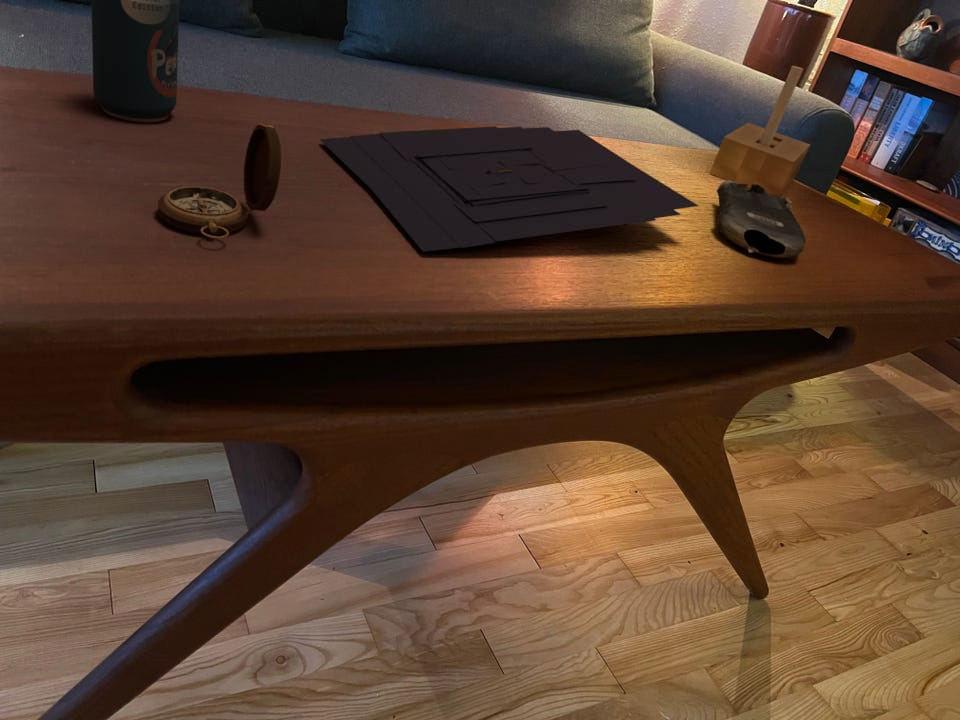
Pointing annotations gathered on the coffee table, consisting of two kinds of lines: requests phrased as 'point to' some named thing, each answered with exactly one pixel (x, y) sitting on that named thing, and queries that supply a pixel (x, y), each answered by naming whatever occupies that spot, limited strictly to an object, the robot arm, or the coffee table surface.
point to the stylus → (781, 105)
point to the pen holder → (759, 159)
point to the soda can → (135, 57)
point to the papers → (502, 183)
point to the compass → (220, 209)
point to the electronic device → (758, 220)
